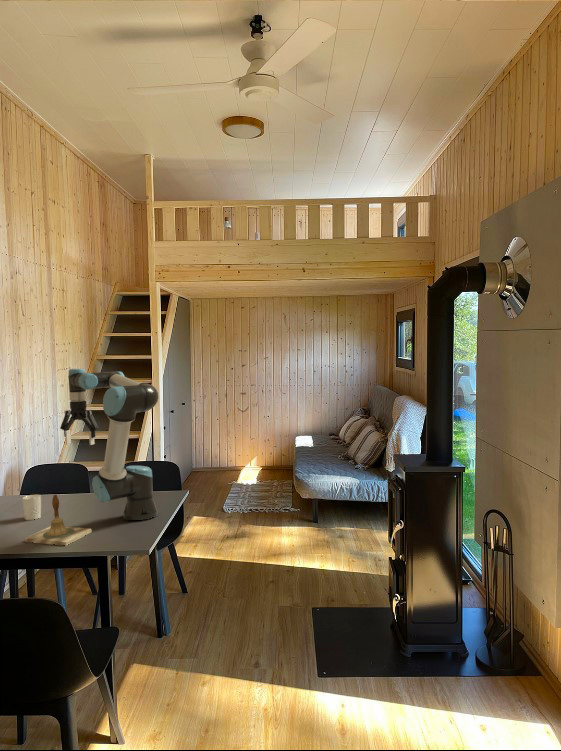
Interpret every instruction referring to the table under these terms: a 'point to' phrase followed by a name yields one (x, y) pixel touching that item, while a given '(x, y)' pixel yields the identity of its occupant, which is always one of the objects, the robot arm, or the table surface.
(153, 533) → the table surface
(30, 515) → the white cup
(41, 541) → the bell board
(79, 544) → the table surface
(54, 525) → the hand bell
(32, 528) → the table surface
